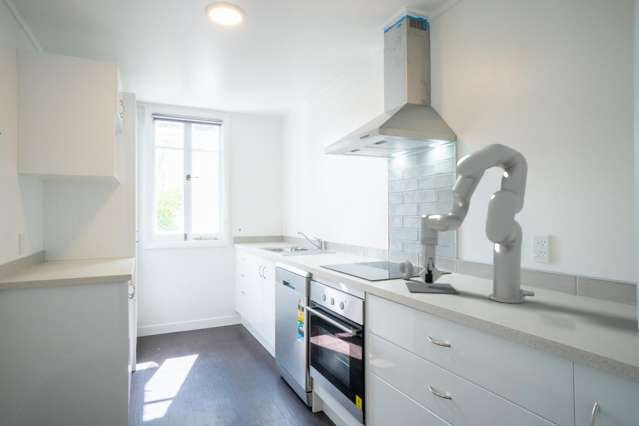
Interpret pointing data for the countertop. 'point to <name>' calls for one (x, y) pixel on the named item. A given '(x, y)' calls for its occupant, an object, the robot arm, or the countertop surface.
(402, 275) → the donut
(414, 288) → the mat
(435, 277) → the tile
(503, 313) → the countertop surface
